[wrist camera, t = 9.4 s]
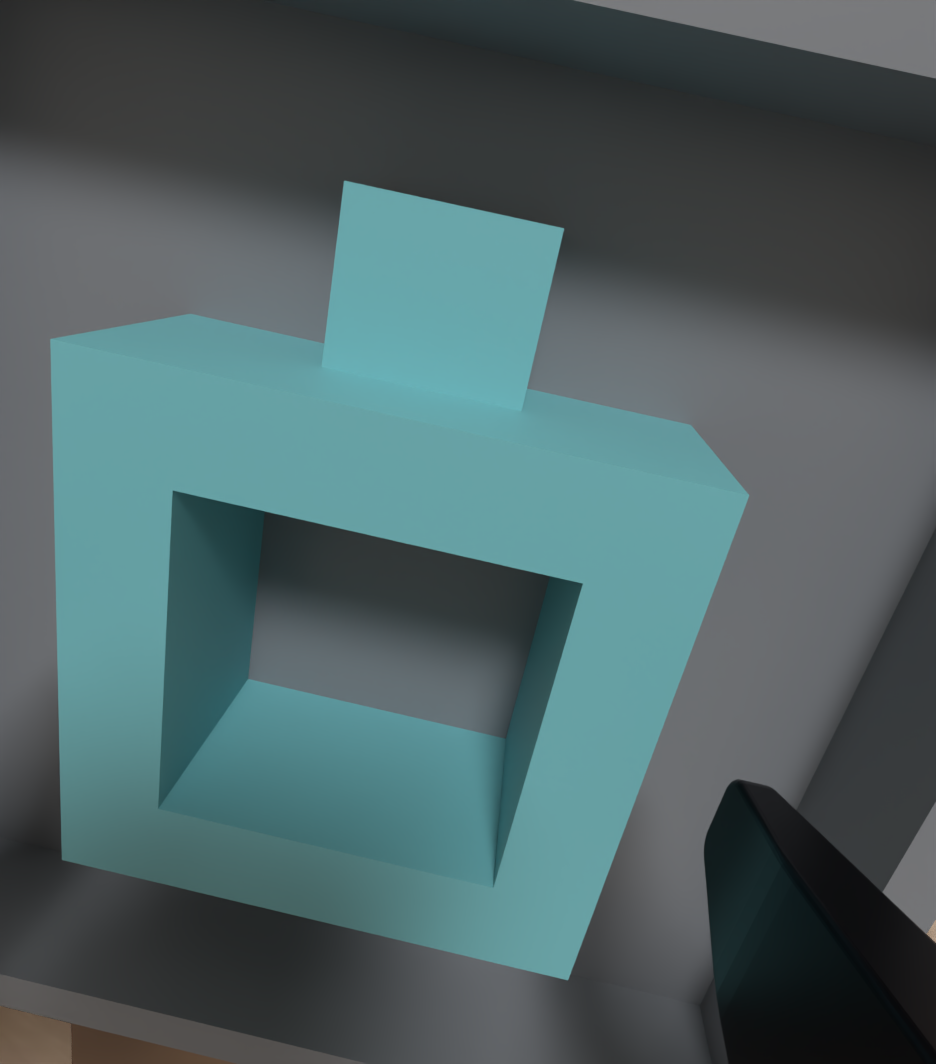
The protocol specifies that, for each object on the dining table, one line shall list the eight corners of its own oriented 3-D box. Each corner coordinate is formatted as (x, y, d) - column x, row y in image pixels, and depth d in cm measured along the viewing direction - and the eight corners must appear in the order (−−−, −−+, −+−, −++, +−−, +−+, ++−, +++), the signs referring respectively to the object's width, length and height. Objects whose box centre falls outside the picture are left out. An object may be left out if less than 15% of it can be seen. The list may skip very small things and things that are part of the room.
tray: (1171, 129, 8) (1478, 70, 6) (720, 1011, 15) (761, 1192, 12) (-129, -152, 9) (-442, -337, 6) (-41, 828, 15) (-176, 962, 12)
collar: (741, 271, 9) (829, 280, 6) (563, 816, 12) (568, 980, 10) (198, 151, 9) (45, 109, 6) (169, 723, 12) (62, 859, 10)
